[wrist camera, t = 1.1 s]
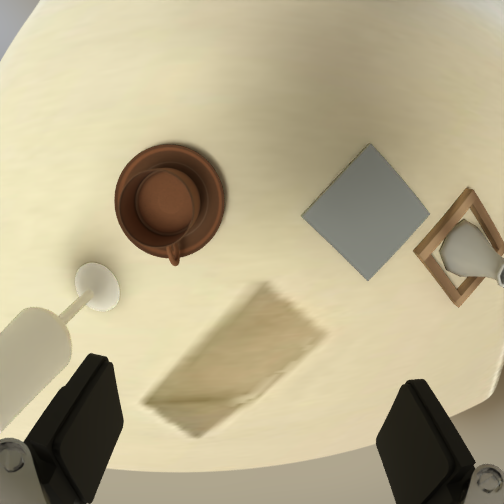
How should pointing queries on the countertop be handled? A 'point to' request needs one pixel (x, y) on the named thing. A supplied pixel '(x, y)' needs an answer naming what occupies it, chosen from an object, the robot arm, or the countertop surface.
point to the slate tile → (367, 212)
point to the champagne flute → (46, 341)
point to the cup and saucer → (169, 201)
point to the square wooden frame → (442, 230)
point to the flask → (471, 254)
